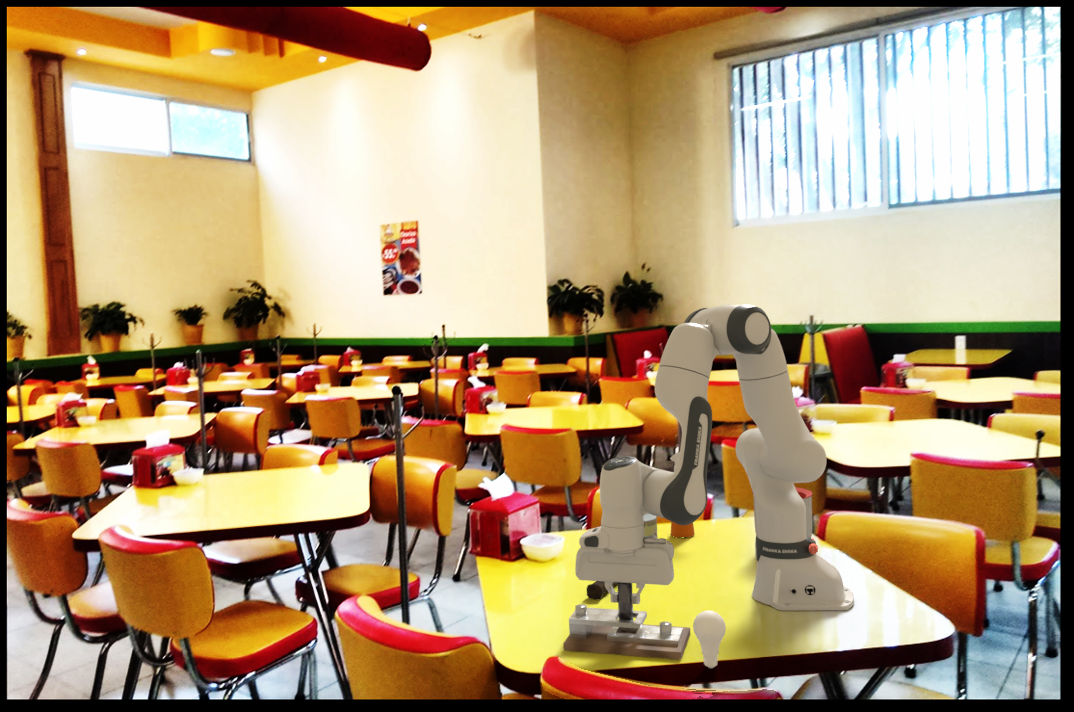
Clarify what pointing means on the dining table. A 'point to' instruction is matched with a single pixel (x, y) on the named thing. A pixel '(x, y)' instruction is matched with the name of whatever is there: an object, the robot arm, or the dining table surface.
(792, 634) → the dining table surface
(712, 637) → the lightbulb
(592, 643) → the walnut board
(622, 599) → the steel pin
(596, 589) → the hand tool
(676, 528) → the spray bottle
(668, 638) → the metal clamp fixture
